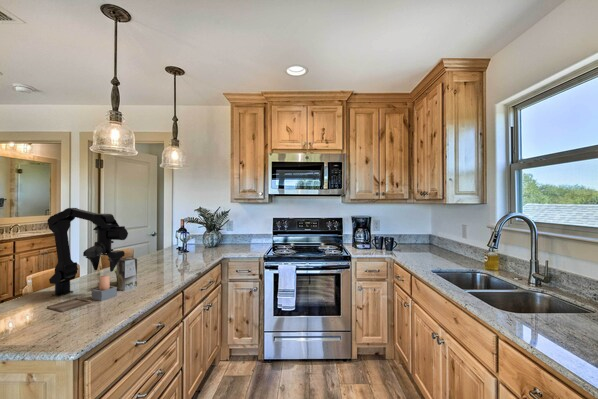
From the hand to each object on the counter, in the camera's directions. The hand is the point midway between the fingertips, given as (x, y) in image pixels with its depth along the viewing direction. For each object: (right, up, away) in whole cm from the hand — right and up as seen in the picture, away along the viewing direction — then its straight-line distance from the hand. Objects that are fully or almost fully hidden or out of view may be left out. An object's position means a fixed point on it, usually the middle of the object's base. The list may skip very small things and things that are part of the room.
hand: (103, 270), depth 133 cm
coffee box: (+5, -12, +10) cm, 17 cm away
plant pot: (-1, -13, +18) cm, 22 cm away
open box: (+4, -12, -5) cm, 14 cm away
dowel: (+4, -12, -5) cm, 13 cm away
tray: (-4, -12, -14) cm, 19 cm away
